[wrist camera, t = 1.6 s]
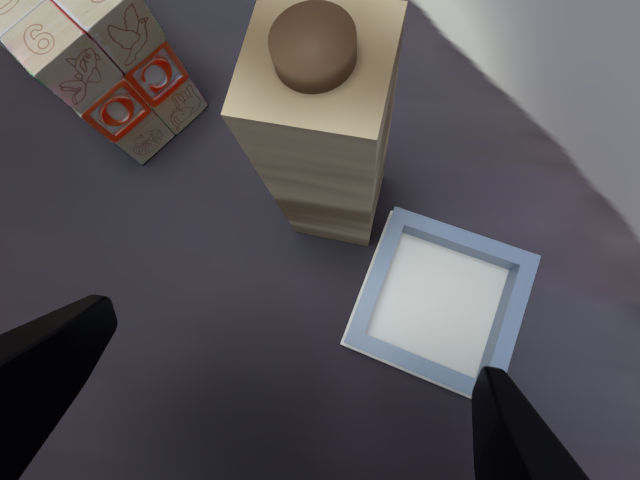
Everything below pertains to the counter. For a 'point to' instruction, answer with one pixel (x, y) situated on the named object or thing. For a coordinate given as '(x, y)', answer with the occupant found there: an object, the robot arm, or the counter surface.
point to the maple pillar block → (319, 108)
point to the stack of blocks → (105, 67)
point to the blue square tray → (441, 301)
